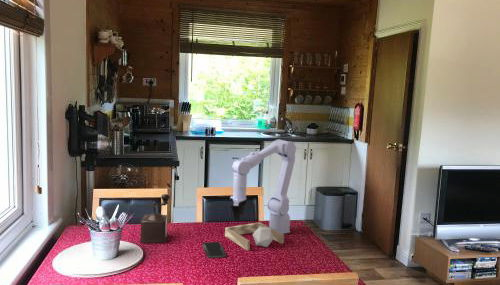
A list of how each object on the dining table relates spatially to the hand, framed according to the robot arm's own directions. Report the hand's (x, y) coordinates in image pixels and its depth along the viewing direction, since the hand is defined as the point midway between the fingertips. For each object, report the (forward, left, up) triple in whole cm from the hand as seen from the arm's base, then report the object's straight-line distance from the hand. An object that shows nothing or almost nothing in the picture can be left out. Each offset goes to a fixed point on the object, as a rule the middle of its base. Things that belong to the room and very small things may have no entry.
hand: (238, 217), depth 181 cm
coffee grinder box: (+32, -18, -10) cm, 38 cm away
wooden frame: (-6, +4, -10) cm, 12 cm away
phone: (+16, +7, -11) cm, 20 cm away
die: (-6, +11, -10) cm, 16 cm away
